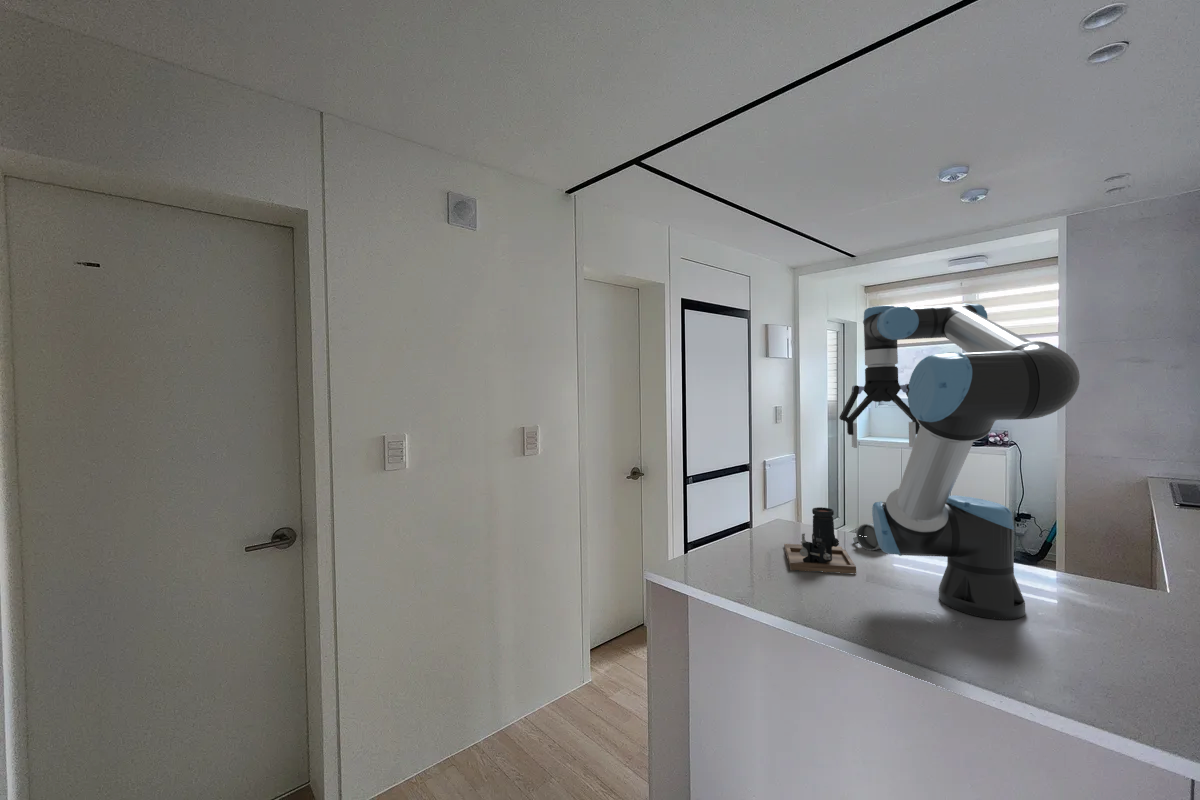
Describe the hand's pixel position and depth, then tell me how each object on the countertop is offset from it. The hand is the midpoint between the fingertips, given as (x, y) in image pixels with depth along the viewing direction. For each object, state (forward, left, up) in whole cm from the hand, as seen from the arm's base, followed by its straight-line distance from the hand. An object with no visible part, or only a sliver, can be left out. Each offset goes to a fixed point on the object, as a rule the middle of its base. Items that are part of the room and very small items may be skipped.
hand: (883, 447), depth 130 cm
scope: (+3, +15, -32) cm, 35 cm away
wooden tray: (+6, +16, -33) cm, 37 cm away
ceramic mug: (+21, -1, -33) cm, 39 cm away
